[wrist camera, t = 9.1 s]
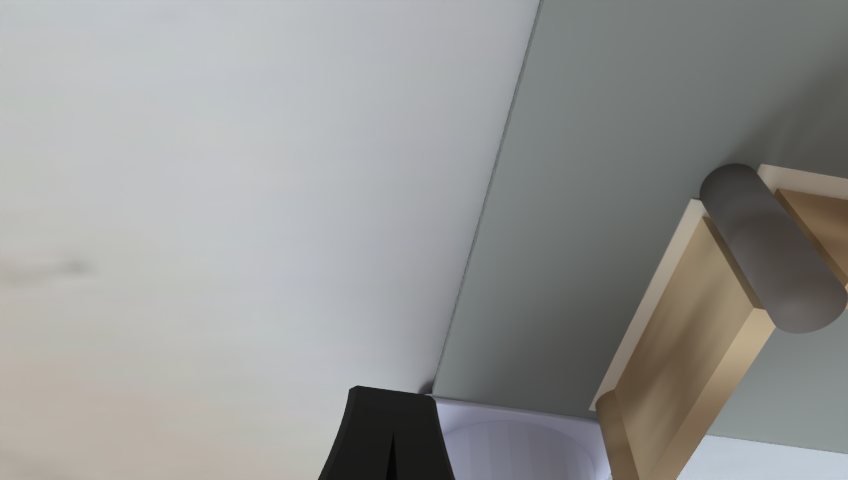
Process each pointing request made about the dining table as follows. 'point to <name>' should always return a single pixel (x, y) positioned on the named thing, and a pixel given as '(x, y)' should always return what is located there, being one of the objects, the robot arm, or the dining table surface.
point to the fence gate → (821, 226)
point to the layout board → (648, 201)
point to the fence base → (714, 324)
